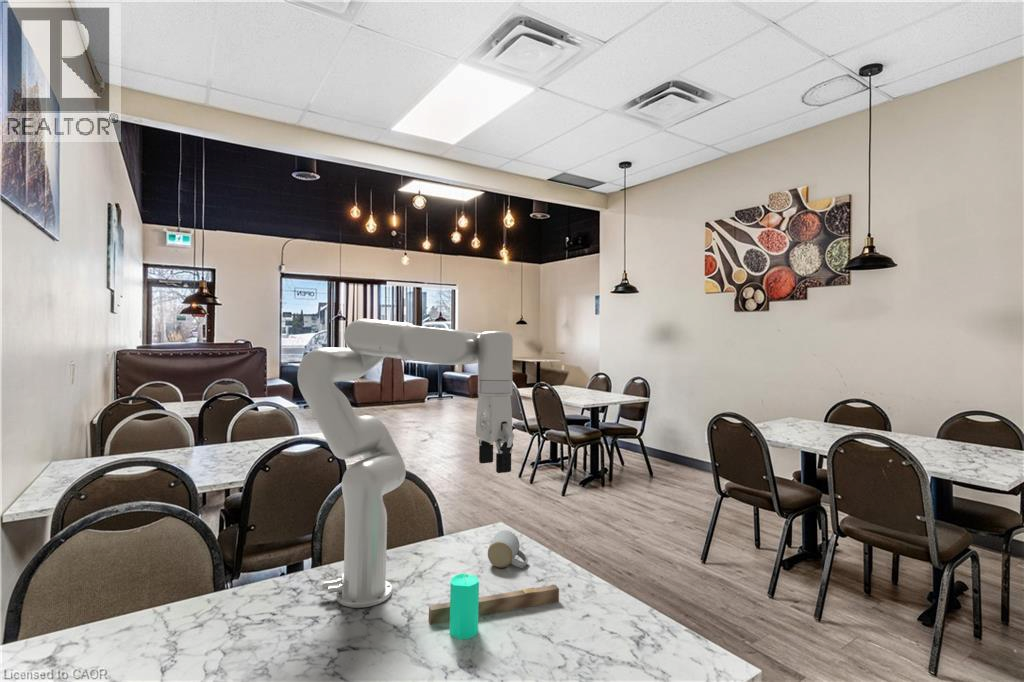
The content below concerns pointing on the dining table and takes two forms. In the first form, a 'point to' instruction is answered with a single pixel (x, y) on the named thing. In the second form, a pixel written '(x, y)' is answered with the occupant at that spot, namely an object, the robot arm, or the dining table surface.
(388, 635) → the dining table surface
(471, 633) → the candle
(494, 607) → the rail
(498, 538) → the ceramic mug
